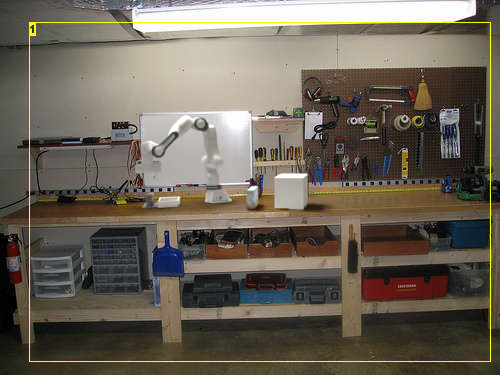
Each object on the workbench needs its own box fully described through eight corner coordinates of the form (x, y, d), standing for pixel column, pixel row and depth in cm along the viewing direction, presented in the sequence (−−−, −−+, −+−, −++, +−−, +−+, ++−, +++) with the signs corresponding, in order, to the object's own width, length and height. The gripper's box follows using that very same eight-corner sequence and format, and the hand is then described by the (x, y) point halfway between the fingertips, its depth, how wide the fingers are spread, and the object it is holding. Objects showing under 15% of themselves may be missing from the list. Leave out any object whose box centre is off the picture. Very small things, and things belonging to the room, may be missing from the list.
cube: (303, 211, 273) (303, 178, 269) (274, 210, 279) (274, 177, 275) (307, 204, 296) (307, 173, 293) (281, 203, 302) (280, 173, 299)
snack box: (253, 210, 278) (253, 190, 276) (246, 209, 280) (245, 190, 277) (258, 204, 299) (258, 185, 297) (251, 204, 300) (251, 185, 298)
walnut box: (154, 203, 309) (154, 192, 307) (152, 206, 297) (151, 195, 295) (148, 203, 308) (147, 192, 307) (146, 206, 296) (145, 195, 295)
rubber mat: (158, 203, 311) (158, 202, 311) (156, 207, 295) (156, 206, 295) (145, 204, 310) (145, 203, 310) (141, 208, 294) (141, 207, 294)
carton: (180, 202, 314) (179, 196, 313) (178, 206, 296) (178, 200, 295) (160, 203, 312) (160, 197, 311) (157, 207, 294) (157, 201, 294)
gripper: (161, 160, 301) (162, 177, 303) (135, 161, 299) (136, 178, 301) (160, 161, 295) (161, 178, 297) (133, 162, 293) (135, 179, 295)
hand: (148, 178), depth 299 cm, fingers open, 8 cm apart
